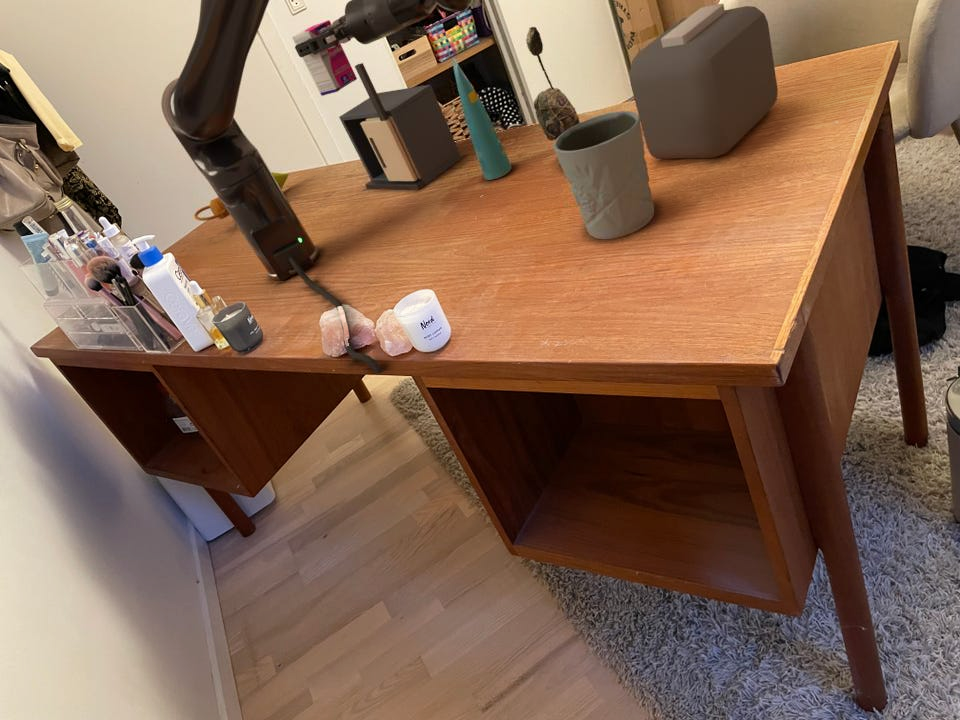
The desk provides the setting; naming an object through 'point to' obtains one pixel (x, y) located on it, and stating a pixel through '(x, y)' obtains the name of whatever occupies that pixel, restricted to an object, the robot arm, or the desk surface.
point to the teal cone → (481, 130)
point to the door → (384, 137)
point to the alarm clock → (704, 82)
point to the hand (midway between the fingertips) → (307, 45)
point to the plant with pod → (550, 99)
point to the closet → (405, 136)
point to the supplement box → (326, 63)
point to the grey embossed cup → (608, 173)
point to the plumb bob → (220, 209)
